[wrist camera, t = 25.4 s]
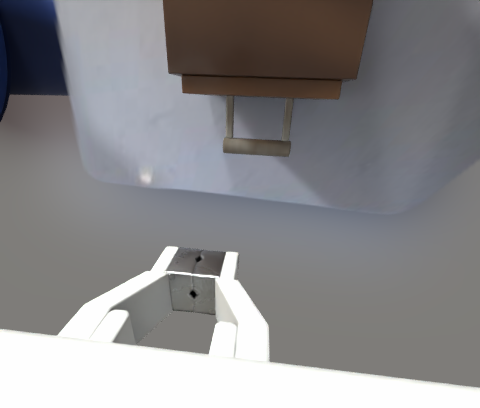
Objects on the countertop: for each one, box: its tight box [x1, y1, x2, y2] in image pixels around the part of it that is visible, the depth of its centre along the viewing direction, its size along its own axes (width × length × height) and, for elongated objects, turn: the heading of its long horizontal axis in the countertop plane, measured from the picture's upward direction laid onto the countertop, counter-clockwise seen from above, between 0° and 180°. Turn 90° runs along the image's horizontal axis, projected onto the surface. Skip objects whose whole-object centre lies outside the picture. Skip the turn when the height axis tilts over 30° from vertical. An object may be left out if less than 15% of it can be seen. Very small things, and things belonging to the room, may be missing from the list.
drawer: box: [182, 75, 342, 157], centre depth 19 cm, size 18×11×8 cm, turn 178°
